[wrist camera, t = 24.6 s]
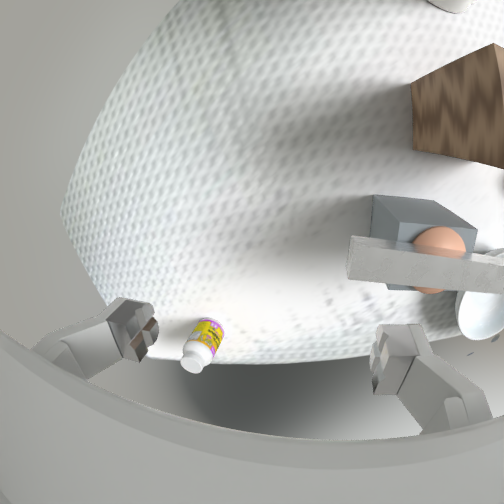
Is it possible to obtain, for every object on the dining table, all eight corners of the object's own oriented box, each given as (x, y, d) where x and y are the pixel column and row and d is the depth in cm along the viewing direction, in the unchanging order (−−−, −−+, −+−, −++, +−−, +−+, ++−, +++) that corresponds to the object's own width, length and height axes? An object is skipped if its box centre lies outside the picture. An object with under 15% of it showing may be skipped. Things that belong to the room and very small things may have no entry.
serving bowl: (507, 310, 43) (518, 326, 36) (442, 331, 49) (451, 350, 43) (518, 231, 36) (535, 243, 30) (448, 248, 42) (463, 263, 36)
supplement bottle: (230, 336, 62) (212, 375, 50) (207, 340, 64) (187, 377, 52) (217, 313, 60) (195, 352, 48) (193, 319, 62) (170, 355, 50)
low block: (373, 194, 42) (401, 224, 27) (433, 200, 40) (480, 231, 25) (368, 244, 46) (389, 293, 31) (426, 247, 43) (464, 294, 28)
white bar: (351, 235, 29) (354, 244, 27) (503, 258, 25) (514, 267, 22) (345, 267, 31) (348, 279, 28) (494, 283, 26) (504, 294, 24)
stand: (410, 83, 33) (493, 43, 10) (474, 99, 30) (569, 92, 6) (412, 149, 38) (503, 169, 14) (475, 161, 34) (572, 194, 11)
